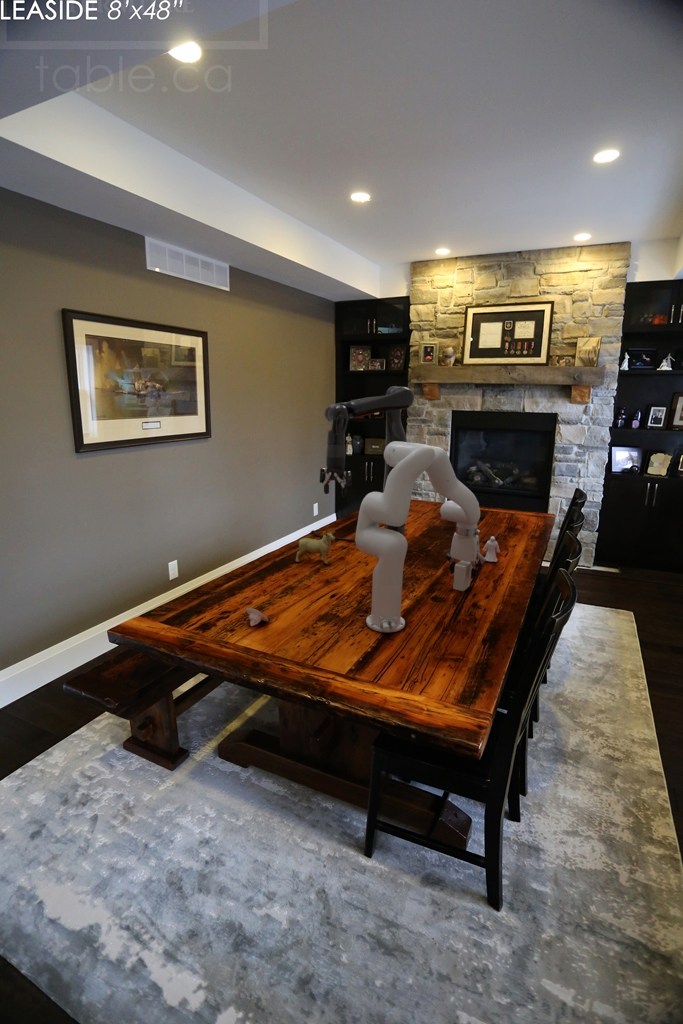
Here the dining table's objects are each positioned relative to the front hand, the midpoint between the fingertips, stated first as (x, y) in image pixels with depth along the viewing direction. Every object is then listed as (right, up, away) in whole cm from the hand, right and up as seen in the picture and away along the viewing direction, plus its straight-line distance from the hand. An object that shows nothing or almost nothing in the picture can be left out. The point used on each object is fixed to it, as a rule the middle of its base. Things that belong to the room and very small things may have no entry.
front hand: (462, 574), depth 193 cm
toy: (-58, +2, +25) cm, 63 cm away
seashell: (-74, -12, -31) cm, 81 cm away
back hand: (-49, +31, +12) cm, 60 cm away
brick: (0, -5, +1) cm, 5 cm away
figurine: (+20, +2, +32) cm, 38 cm away
